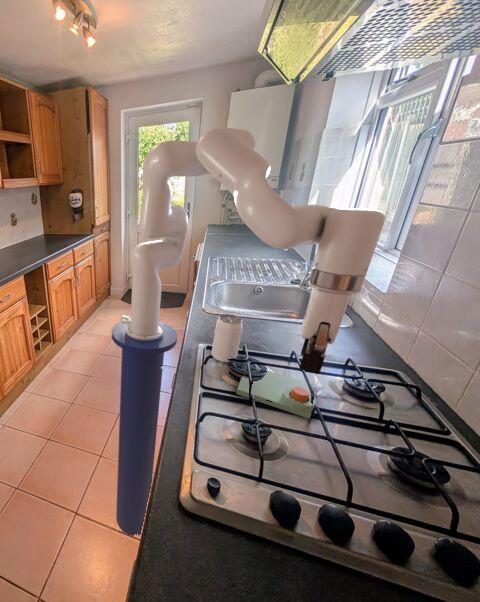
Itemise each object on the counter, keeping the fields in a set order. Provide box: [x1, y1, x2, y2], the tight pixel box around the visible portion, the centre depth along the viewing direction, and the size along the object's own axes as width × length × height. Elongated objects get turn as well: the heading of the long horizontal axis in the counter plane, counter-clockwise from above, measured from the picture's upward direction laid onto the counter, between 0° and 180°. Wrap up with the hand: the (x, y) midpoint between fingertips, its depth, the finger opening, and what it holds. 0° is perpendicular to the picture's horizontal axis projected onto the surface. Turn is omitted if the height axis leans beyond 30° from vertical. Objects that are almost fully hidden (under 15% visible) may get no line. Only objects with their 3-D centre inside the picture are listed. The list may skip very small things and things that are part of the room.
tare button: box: [291, 387, 309, 402], centre depth 64 cm, size 3×3×2 cm
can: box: [211, 313, 244, 364], centre depth 82 cm, size 6×6×12 cm
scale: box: [235, 370, 317, 420], centre depth 70 cm, size 14×12×3 cm
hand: (309, 363), depth 61 cm, fingers open, 5 cm apart
